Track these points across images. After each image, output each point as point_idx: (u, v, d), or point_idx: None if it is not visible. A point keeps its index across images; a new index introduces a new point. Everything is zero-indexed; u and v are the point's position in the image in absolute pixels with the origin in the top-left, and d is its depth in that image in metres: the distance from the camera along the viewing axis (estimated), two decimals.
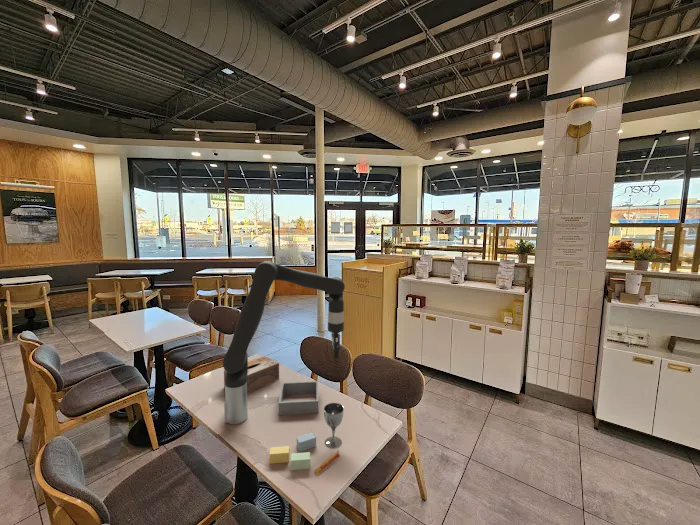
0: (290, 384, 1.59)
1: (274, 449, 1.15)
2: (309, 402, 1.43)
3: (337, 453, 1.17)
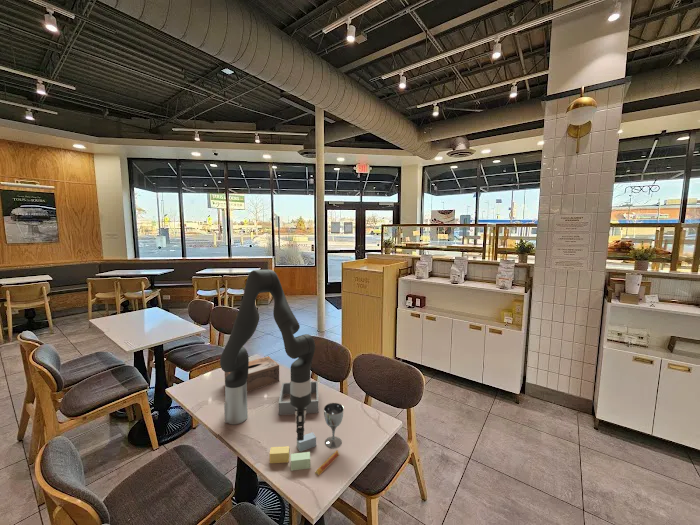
0: None
1: (274, 449, 1.15)
2: None
3: (336, 452, 1.17)
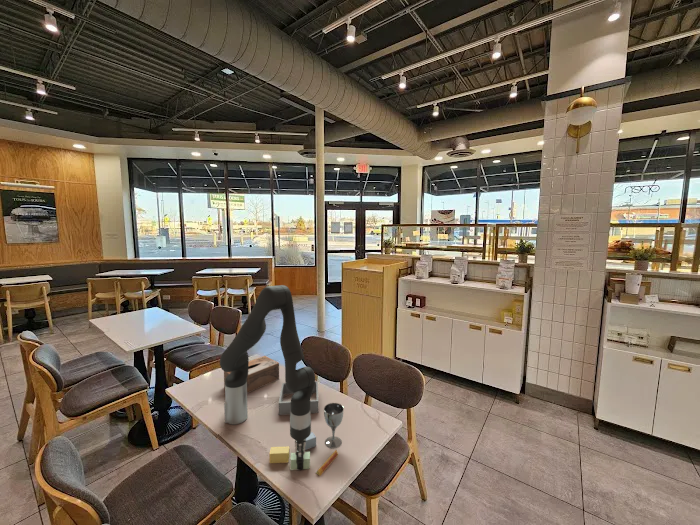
0: None
1: (274, 449, 1.15)
2: None
3: (335, 452, 1.18)
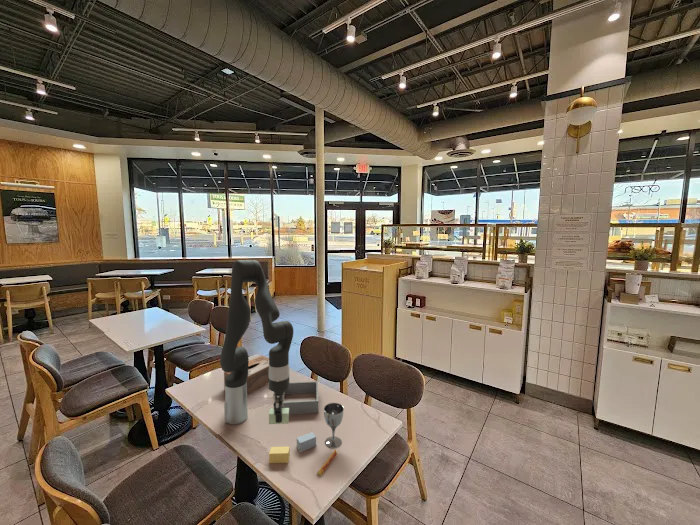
0: (290, 384, 1.59)
1: (274, 449, 1.15)
2: (309, 402, 1.43)
3: (335, 452, 1.18)
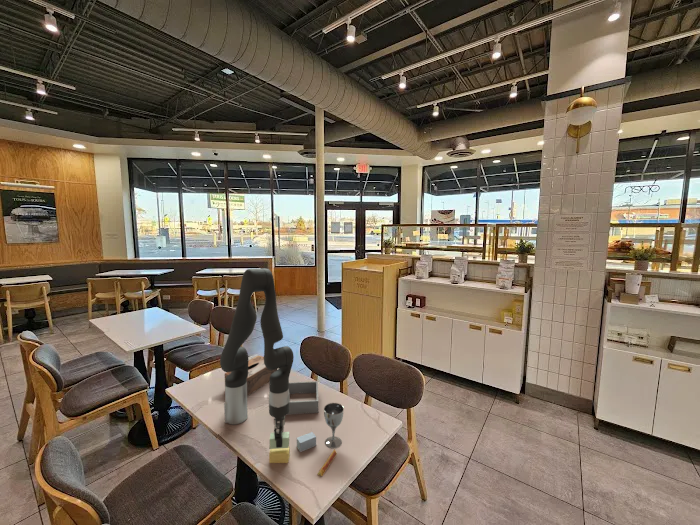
0: (290, 384, 1.59)
1: (274, 449, 1.15)
2: (309, 402, 1.43)
3: (334, 451, 1.18)
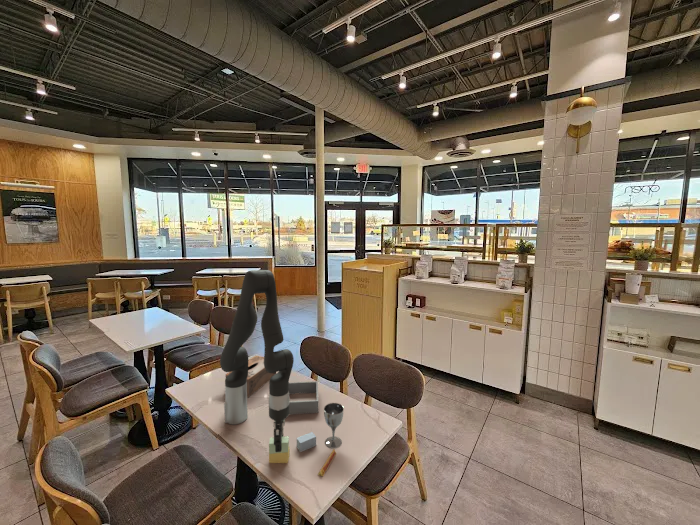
0: (290, 384, 1.59)
1: None
2: (309, 402, 1.43)
3: (334, 451, 1.18)
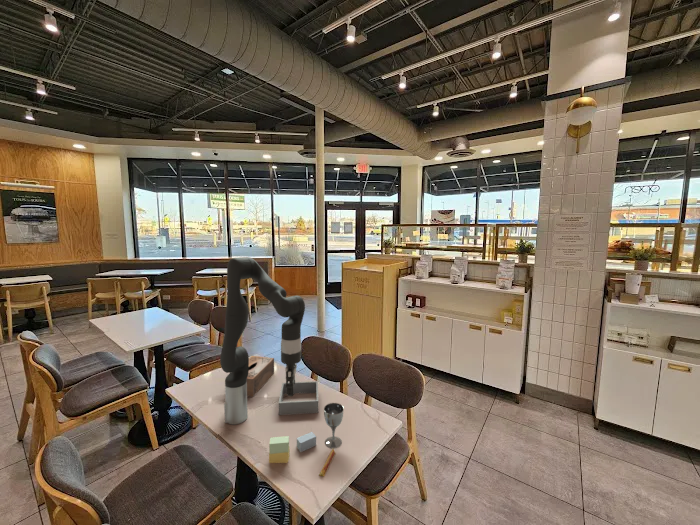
0: None
1: None
2: (309, 402, 1.43)
3: (333, 451, 1.18)
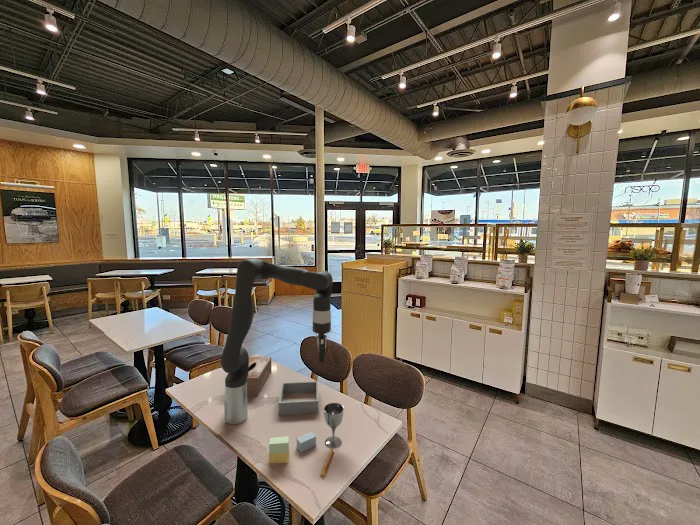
0: (290, 384, 1.59)
1: None
2: (309, 402, 1.43)
3: (332, 451, 1.18)
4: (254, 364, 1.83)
